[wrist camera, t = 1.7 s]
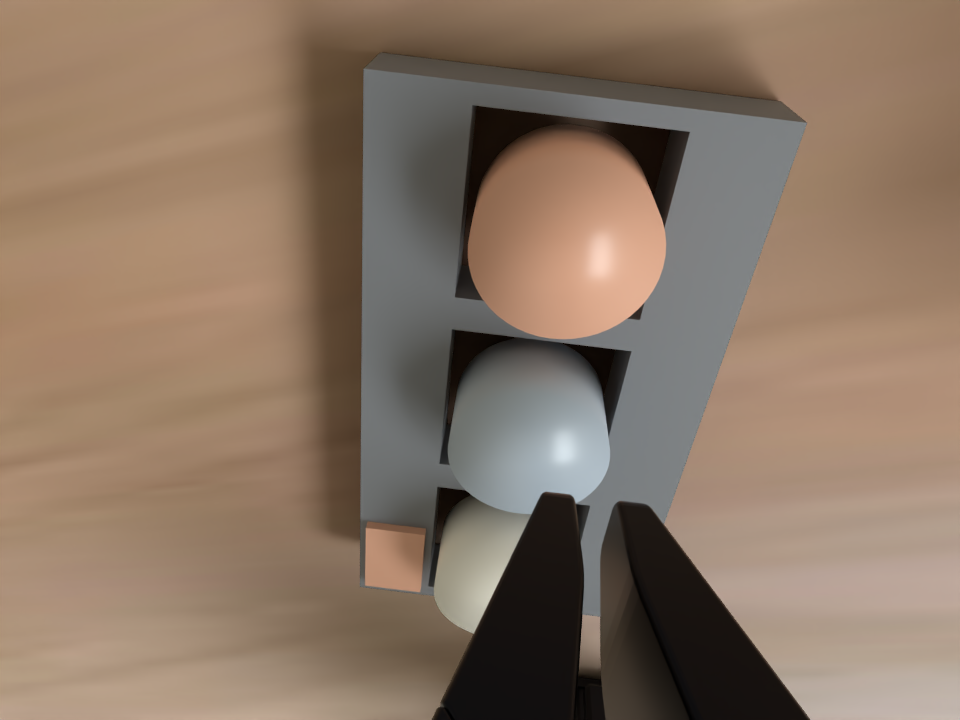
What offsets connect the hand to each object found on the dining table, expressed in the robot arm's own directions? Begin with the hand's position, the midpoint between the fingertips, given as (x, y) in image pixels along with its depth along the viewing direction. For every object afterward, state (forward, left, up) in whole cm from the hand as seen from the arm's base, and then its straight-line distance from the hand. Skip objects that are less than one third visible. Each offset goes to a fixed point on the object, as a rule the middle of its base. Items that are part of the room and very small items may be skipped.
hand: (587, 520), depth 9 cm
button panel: (-6, 0, -12) cm, 13 cm away
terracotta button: (0, 0, -11) cm, 11 cm away
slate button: (-6, 0, -11) cm, 12 cm away
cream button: (-12, 0, -11) cm, 16 cm away
